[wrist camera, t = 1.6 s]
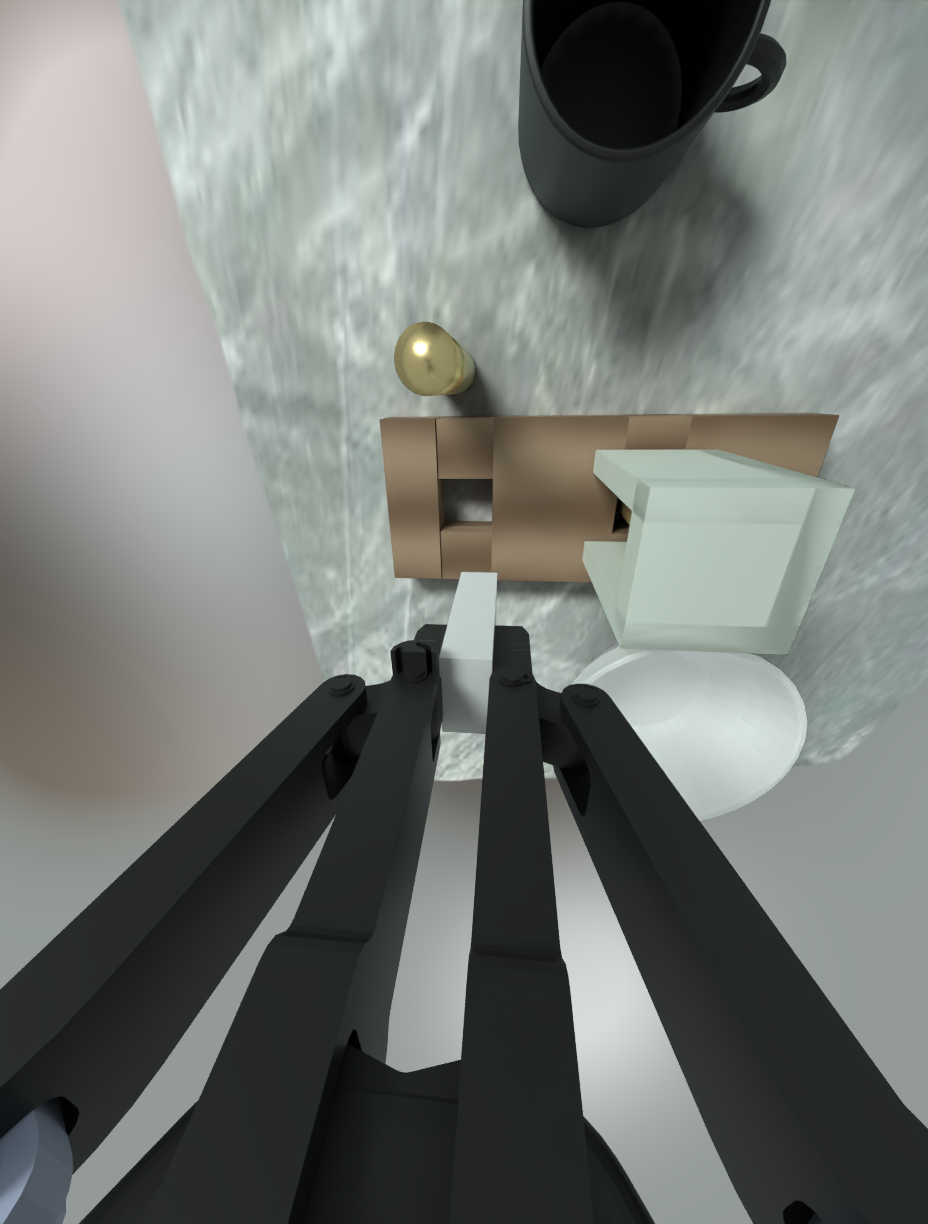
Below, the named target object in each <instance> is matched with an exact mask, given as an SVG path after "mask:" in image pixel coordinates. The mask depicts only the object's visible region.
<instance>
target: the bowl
mask: <svg viewBox="0 0 928 1224" xmlns="http://www.w3.org/2000/svg"><path fill="white" fill-rule="evenodd" d="M573 684H589V685H593V686H596V687H598V688H600V689H602V690H604V691H605V692H606V693H607V694H608V695H609V696H610V697H611V699H612V700H613V702H614V703H615V704H616V706H617V707H618V708H619V710H620V711H621V713H622V714H623V715H624V717H625V718H626V720H627V721H628V722H629V724H630V725H631V727H632V728H633V729H634V731H635V732H636V733H637V735H638V736H639V738H640V739H641V740H642V742H643V743H644V745H645V746H646V747H647V749H648V750H649V752H650V753H651V754H652V756H653V757H654V758H655V760H656V761H657V763H658V764H659V765H660V767H661V768H662V770H663V771H664V772H665V774H666V775H667V777H668V778H669V779H670V781H671V782H672V783H673V785H674V786H675V788H676V789H677V790H678V792H679V793H680V795H681V796H682V797H683V799H684V800H685V801H686V803H687V804H688V806H689V807H690V808H691V810H692V811H693V813H694V814H695V815H696V817H697V818H698V820H699V821H703V820H709V819H712V818H715V817H718V816H721V815H724V814H727V813H730V812H732V811H735V810H737V809H739V808H741V807H743V806H745V805H747V804H749V803H751V802H753V801H754V800H756V799H757V798H759V797H760V796H762V795H763V794H765V793H766V792H768V791H769V790H770V789H772V788H773V787H774V786H775V785H776V784H777V783H778V782H779V781H780V780H781V779H782V778H783V777H784V776H785V775H786V774H787V773H788V771H789V770H790V769H791V767H792V766H793V764H794V763H795V762H796V760H797V759H798V756H799V754H800V752H801V749H802V747H803V745H804V742H805V736H806V729H807V718H806V711H805V705H804V702H803V700H802V698H801V696H800V694H799V692H798V690H797V688H796V686H795V685H794V684H793V683H792V682H791V680H790V679H789V678H788V677H787V676H786V675H785V674H784V673H783V672H782V671H781V670H780V669H779V668H777V667H775V666H774V665H772V664H771V663H769V662H768V661H766V660H765V659H763V658H761V657H759V656H757V655H754V654H751V653H728V652H701V651H675V650H648V649H622V648H620V646H619V644H617V645H615V646H613V647H611V648H609V649H607V650H606V651H604V652H603V653H602V654H600V655H599V656H598V657H596V658H595V659H594V660H593V661H592V662H591V663H590V664H589V665H588V666H587V667H586V668H585V669H584V670H583V671H582V672H581V673H580V674H579V675H578V676H577V678H576V679H575V680H574V681H573V683H572V684H571V685H573Z"/></svg>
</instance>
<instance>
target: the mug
mask: <svg viewBox="0 0 928 1224" xmlns="http://www.w3.org/2000/svg"><path fill="white" fill-rule="evenodd" d="M770 2H771V0H523V15H522V42H521V69H520V96H519V123H518V132H519V147H520V153H521V159H522V164H523V167H524V170H525V174H526V177H527V179H528V181H529V184H530V186H531V188H532V190H533V192H534V193H535V195H536V196H537V198H538V199H539V201H540V202H541V203H542V204H543V206H544V207H545V208H546V209H547V210H548V211H549V212H550V213H552V214H553V215H554V216H556V217H557V218H558V219H560V220H562V221H564V222H567V223H569V224H572V225H576V226H580V227H599V226H604V225H608V224H611V223H614V222H616V221H619V220H621V219H623V218H624V217H626V216H628V215H630V214H631V213H633V212H634V211H635V210H637V209H638V208H639V207H640V206H642V205H643V204H644V203H645V202H646V201H647V200H648V199H649V198H650V197H651V196H652V195H653V194H654V193H655V191H656V190H657V189H658V187H659V186H660V185H661V183H662V182H663V181H664V179H665V178H666V177H667V175H668V174H669V172H670V171H671V170H672V168H673V167H674V166H675V164H676V163H677V162H678V160H679V159H680V158H681V156H682V155H683V154H684V152H685V151H686V149H687V148H688V147H689V145H690V144H691V143H692V141H693V140H694V139H695V137H696V136H697V135H698V133H699V132H700V131H701V129H702V128H703V127H704V125H705V124H706V122H707V121H708V120H709V118H710V117H711V116H712V114H713V113H714V112H729V111H734V110H738V109H741V108H744V107H747V106H749V105H751V104H754V103H756V102H758V101H760V100H761V99H763V98H764V97H765V96H767V95H768V94H769V93H770V92H772V91H773V89H774V88H775V87H776V85H777V84H778V82H779V80H780V78H781V76H782V73H783V71H784V69H785V67H786V54H785V52H784V50H783V48H782V47H781V46H780V44H779V43H778V42H777V41H776V40H775V39H774V38H772V37H770V36H767V35H764V34H761V33H760V32H761V29H762V26H763V24H764V21H765V18H766V15H767V12H768V9H769V6H770ZM746 64H748V65H751V66H753V67H755V68H757V69H758V70H759V71H760V72H761V74H762V75H761V76H760V77H758V78H757V79H755V80H753V81H751V82H749V83H747V84H744V85H741V86H737V87H733V85H734V84H735V82H736V80H737V79H738V77H739V75H740V74H741V72H742V70H743V68H744V67H745V65H746Z"/></svg>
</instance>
